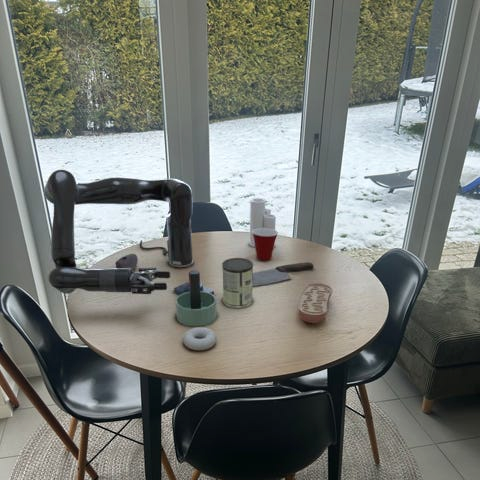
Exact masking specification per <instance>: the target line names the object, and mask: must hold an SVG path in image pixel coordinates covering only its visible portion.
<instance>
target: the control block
mask: <svg viewBox="0 0 480 480" xmlns="http://www.w3.org/2000/svg"><path fill="white" fill-rule="evenodd" d="M200 291H204V292H208V293H211V294H213V295H214V296H215V291H214V290H213V289H211V288H209V287H206V286H204V284H203V282H201V281H200ZM173 292H174V293H175V294H177V295H178V296H179V295H181V294H183V293H186V292H190V288H189V286H188V281H187V282H185V283H183V284H180V285H177V286H175V287H173Z"/></svg>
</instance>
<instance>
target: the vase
mask: <svg viewBox="0 0 480 480" xmlns="http://www.w3.org/2000/svg"><path fill="white" fill-rule="evenodd" d="M249 201H250V203H249V206H250V208H249V246H250V247H253V248H255V242H254V236H253V233H252V230H254V229H259V228H267V229H273V230H276V219H277V217H276V215H275V214H271V212H272V209H271V208H266V199H265V198H262V197H253V198H250V199H249Z"/></svg>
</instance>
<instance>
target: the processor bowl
mask: <svg viewBox="0 0 480 480" xmlns="http://www.w3.org/2000/svg"><path fill="white" fill-rule="evenodd" d="M200 293H201V303H203V304H202V305H201V309H187V308H185V307H189V308H191V306H190V292H186V293H183V294H181V295H179V294H178V295H177V296H176V298H175V300H174V301H175V312H176V314H175V315H176V320H177V322H179V323H180V324H182V325H184V326H187V327H188V326H189V327H203V326H206V325H210V324H212V323H213V322H214V321H215V320H216V319H217V313H218V312H217V310H218V309H217V306H218V305H217V298H216V296H215V294H214V295H213V294H211V293H208V292H204V291H200Z"/></svg>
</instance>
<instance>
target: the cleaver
mask: <svg viewBox="0 0 480 480" xmlns="http://www.w3.org/2000/svg"><path fill="white" fill-rule="evenodd" d="M312 269H314V264H313V262H311V261H309V262H297V263H290V264H289V263H288V264H284V265H278V266H276V267H274V268H270V269H265V270H260V271H256V272H253V278H252V287H257V286H264V285H269V284H274V283H278V282H282V281H287V280H289V279H291V278H292V277H291V276H290V274H289V273H287V272H298V271H302V270H312Z"/></svg>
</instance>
